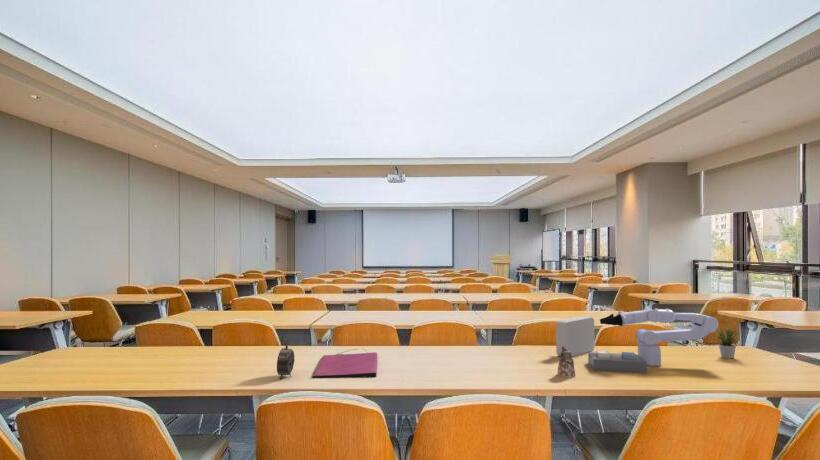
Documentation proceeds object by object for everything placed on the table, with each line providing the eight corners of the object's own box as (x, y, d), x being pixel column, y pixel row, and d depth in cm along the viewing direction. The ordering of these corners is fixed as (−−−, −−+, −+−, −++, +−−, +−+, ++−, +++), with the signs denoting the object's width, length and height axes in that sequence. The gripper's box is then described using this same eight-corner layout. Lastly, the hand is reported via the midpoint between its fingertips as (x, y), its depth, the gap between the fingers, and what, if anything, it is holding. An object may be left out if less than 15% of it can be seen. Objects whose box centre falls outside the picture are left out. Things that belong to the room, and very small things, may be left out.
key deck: (638, 365, 208) (637, 354, 209) (646, 373, 195) (646, 362, 195) (588, 362, 213) (588, 352, 213) (593, 370, 200) (593, 359, 200)
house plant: (753, 358, 222) (752, 325, 222) (742, 362, 214) (741, 328, 214) (720, 353, 233) (719, 321, 234) (708, 356, 226) (708, 324, 226)
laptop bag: (376, 369, 189) (312, 371, 187) (376, 378, 189) (312, 381, 187) (377, 347, 229) (324, 349, 227) (377, 355, 229) (324, 357, 227)
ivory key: (608, 360, 207) (607, 351, 207) (610, 363, 202) (610, 353, 203) (596, 360, 208) (596, 350, 209) (598, 362, 203) (598, 352, 204)
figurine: (562, 378, 188) (562, 349, 188) (554, 373, 195) (554, 346, 195) (578, 377, 189) (577, 349, 189) (569, 372, 196) (569, 345, 196)
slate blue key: (633, 362, 205) (633, 352, 205) (636, 364, 200) (636, 354, 200) (621, 361, 206) (621, 351, 206) (624, 364, 201) (624, 354, 201)
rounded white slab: (581, 347, 245) (581, 315, 246) (594, 350, 239) (594, 316, 240) (552, 355, 227) (551, 320, 228) (565, 358, 221) (565, 322, 222)
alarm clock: (284, 373, 194) (284, 336, 195) (296, 373, 194) (296, 336, 195) (275, 380, 183) (276, 341, 184) (288, 381, 183) (289, 341, 184)
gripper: (624, 309, 222) (596, 313, 223) (635, 309, 207) (605, 313, 209) (627, 323, 220) (599, 327, 221) (638, 324, 206) (608, 328, 207)
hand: (602, 321), depth 215 cm, fingers open, 7 cm apart
